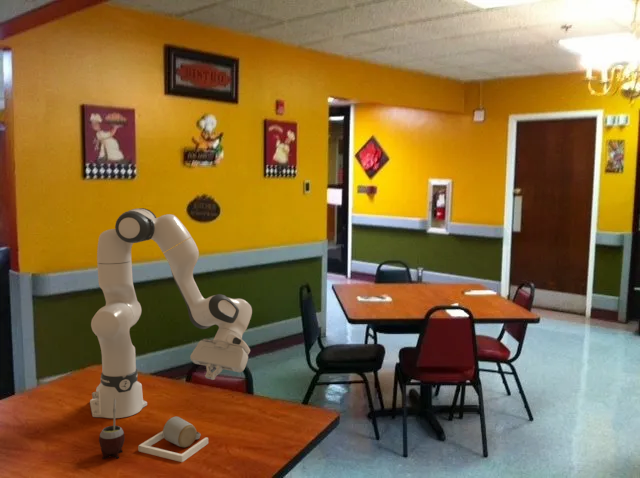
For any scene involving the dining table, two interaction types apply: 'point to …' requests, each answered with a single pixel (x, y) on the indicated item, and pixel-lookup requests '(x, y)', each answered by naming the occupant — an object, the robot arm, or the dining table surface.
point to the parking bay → (168, 454)
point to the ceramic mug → (180, 432)
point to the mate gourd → (112, 439)
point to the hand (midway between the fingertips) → (209, 378)
